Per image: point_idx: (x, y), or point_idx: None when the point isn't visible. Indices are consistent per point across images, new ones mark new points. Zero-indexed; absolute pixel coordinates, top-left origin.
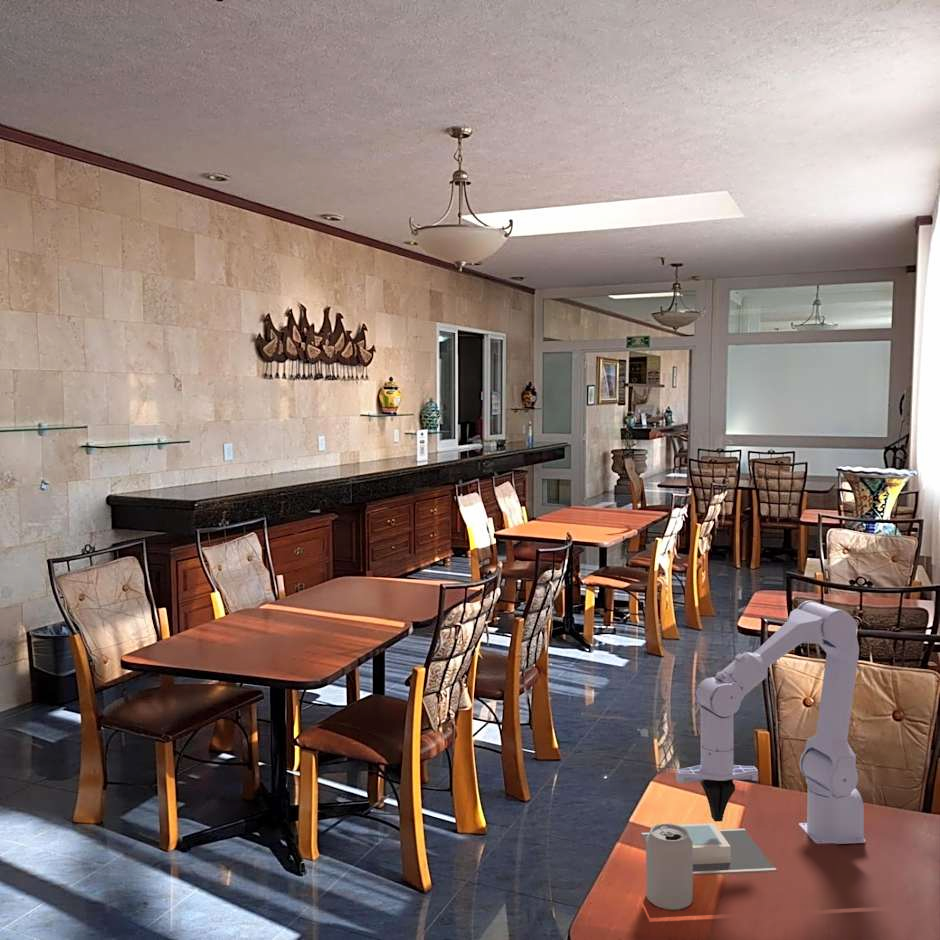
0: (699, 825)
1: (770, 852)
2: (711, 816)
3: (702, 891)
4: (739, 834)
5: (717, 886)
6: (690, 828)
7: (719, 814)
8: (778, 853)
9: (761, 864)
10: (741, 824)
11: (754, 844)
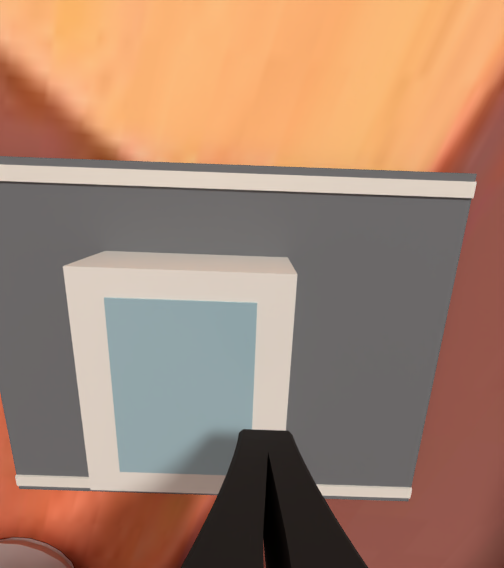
0: (204, 293)
1: (467, 366)
2: (238, 436)
3: (133, 544)
4: (421, 232)
5: (186, 528)
6: (142, 326)
7: (265, 555)
8: (492, 376)
9: (379, 460)
10: (496, 99)
11: (435, 328)
